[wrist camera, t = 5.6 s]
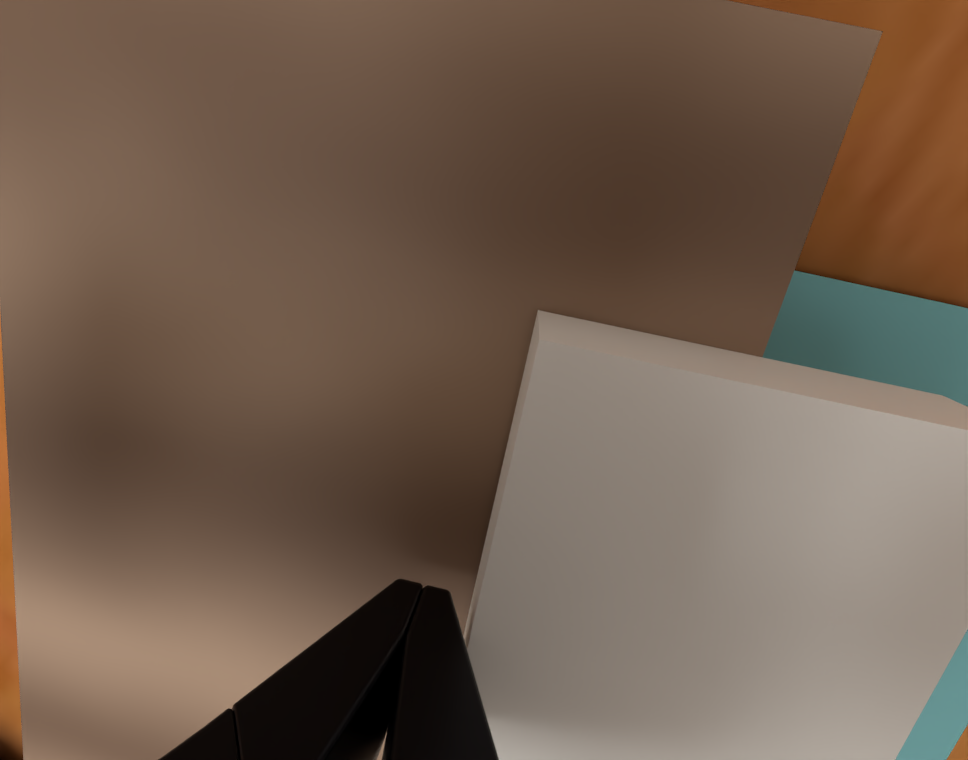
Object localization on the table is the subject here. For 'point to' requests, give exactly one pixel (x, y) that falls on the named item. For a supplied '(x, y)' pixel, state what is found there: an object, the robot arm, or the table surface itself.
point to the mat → (896, 361)
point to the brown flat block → (343, 296)
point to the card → (715, 556)
